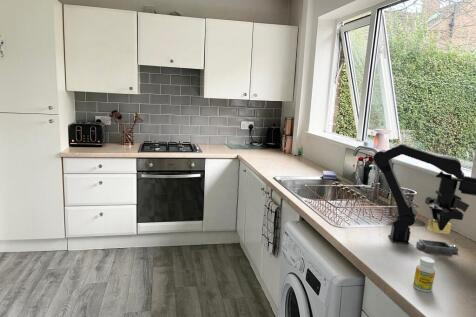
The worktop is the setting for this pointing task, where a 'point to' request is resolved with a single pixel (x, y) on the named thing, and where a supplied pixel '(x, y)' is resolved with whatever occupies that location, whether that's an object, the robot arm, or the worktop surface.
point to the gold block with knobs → (434, 227)
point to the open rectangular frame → (436, 247)
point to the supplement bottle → (424, 274)
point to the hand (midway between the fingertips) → (438, 228)
